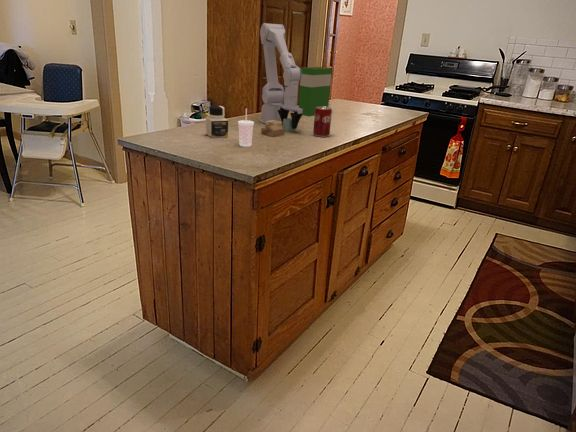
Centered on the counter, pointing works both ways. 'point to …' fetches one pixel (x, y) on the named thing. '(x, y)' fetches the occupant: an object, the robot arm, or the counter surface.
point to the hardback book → (314, 89)
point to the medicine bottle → (216, 122)
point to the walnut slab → (272, 132)
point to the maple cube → (273, 125)
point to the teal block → (287, 124)
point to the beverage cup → (245, 132)
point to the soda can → (322, 121)
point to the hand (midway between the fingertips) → (289, 127)
